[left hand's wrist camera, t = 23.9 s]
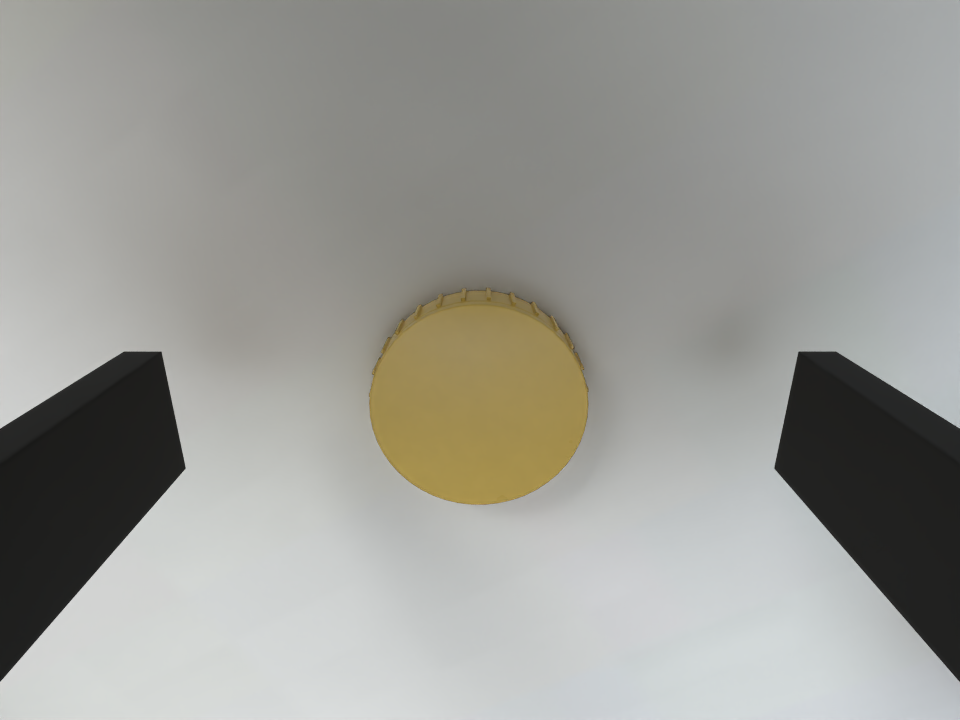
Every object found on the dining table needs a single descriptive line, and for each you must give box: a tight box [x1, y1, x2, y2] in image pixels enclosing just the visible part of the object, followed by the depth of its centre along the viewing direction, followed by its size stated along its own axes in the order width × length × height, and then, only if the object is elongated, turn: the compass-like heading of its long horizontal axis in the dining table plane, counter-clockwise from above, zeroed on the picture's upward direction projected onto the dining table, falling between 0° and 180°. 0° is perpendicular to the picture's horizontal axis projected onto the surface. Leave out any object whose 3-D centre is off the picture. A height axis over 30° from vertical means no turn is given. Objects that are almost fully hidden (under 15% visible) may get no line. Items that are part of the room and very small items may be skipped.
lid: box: [369, 288, 588, 505], centre depth 16 cm, size 6×6×2 cm
